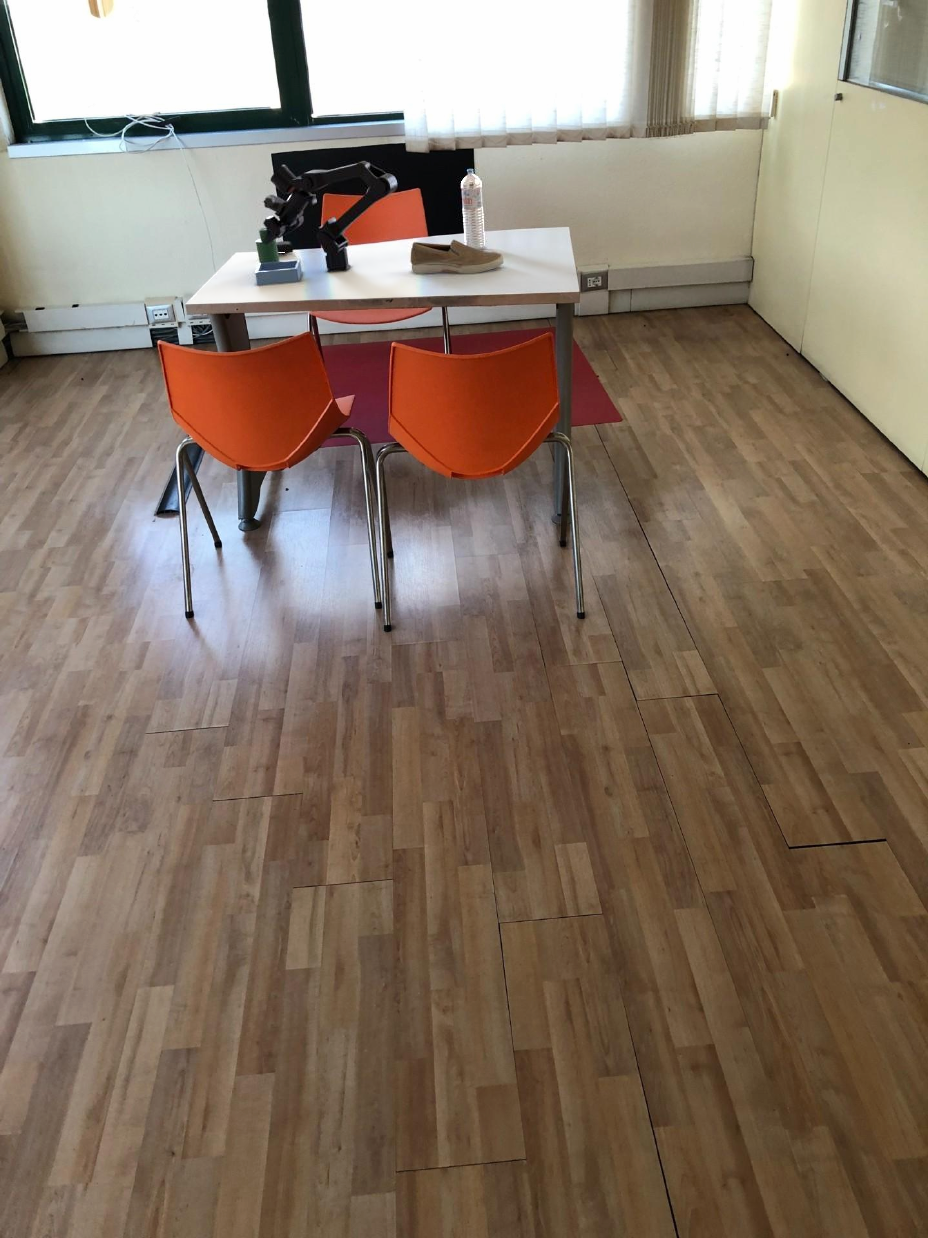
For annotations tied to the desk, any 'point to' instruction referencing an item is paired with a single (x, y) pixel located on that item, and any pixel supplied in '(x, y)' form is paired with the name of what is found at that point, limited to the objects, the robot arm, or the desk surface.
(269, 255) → the bottle
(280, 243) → the tape measure
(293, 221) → the robot arm
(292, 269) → the tote
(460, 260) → the slip on shoe
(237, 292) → the desk surface
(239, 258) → the desk surface
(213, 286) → the desk surface
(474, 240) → the water bottle
